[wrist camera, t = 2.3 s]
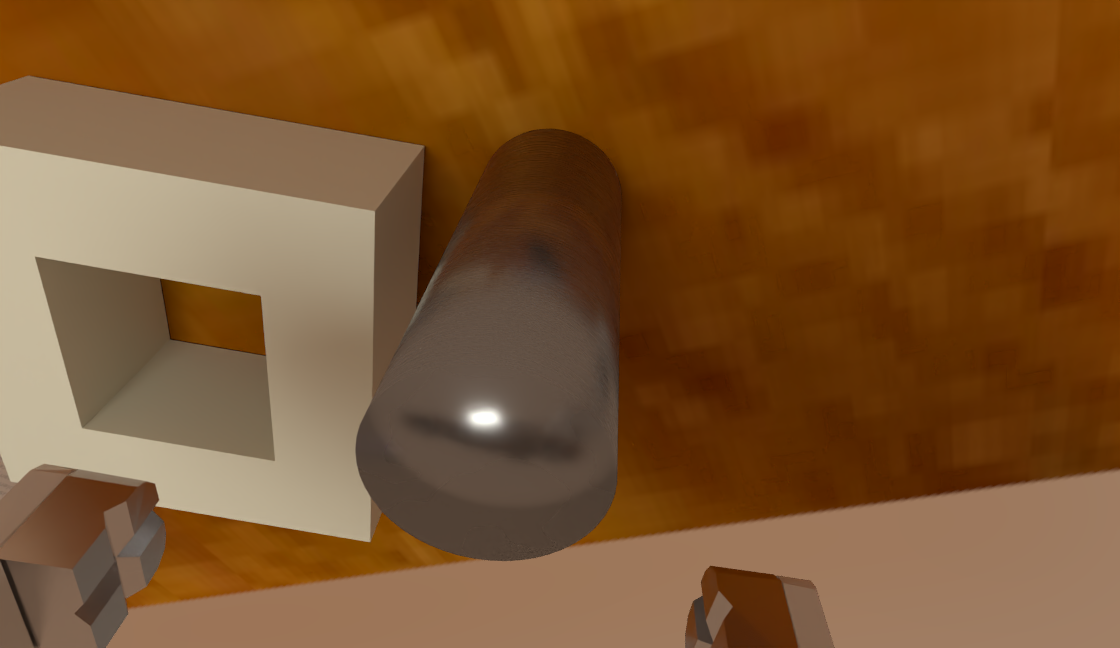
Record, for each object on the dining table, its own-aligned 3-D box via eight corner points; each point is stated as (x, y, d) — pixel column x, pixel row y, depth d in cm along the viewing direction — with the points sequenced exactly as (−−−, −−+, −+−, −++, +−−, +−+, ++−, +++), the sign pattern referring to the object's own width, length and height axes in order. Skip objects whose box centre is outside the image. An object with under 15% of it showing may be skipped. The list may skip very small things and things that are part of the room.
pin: (635, 143, 21) (642, 392, 11) (607, 273, 23) (591, 577, 13) (487, 116, 21) (355, 341, 11) (474, 250, 23) (355, 538, 13)
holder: (424, 145, 21) (374, 211, 17) (409, 441, 28) (370, 542, 24) (27, 75, 21) (-121, 124, 17) (104, 389, 28) (10, 481, 23)
